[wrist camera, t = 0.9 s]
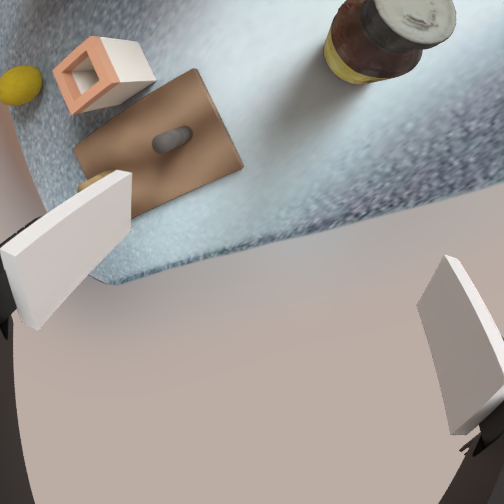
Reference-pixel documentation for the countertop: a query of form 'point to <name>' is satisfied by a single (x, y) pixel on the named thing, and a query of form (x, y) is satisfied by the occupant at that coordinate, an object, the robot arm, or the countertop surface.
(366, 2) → the sauce bottle
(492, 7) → the countertop surface
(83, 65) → the sleeve
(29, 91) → the lemon
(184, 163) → the pin board
